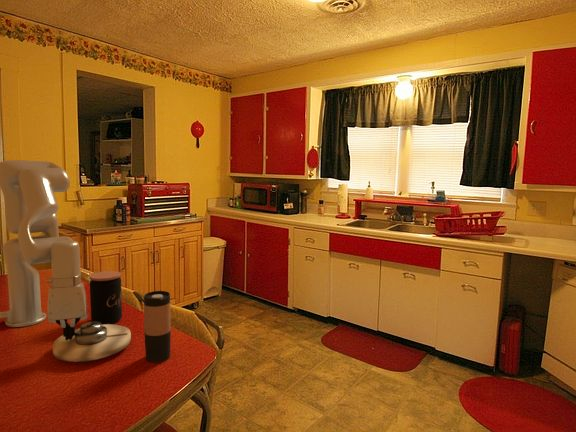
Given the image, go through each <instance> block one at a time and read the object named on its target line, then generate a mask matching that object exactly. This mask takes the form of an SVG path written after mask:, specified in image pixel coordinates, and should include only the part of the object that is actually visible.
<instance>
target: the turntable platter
mask: <svg viewBox="0 0 576 432" xmlns="http://www.w3.org/2000/svg"><path fill="white" fill-rule="evenodd" d="M102 326H104V327H106V328H107V338H106V339H105V340H104V341H102V342H100V343H97V344H93V345H78V344H76V343H75V336H73V337H72V340H69V339H68V340H65V337H63V334H62V335H60V336H59V337H57V338H56V339H55V341H54V342H53V344H52V353H53V356H54V358H56V359H58V360H61V361H65V362H75V363H80V362H79V361H88V362H91V361H90V360H95V359H99V360H101V359H100V358H103V359H105V358H104V357H106V358H108V357H110V356H112V355H114V354H115V355H116V354H117V353H119V352H121V351H122V350H124V349H125V348H127V347H128V346H129V344H131V341H132V337H131V336H132V333H131V330H130V329H129V327H126V326H123V325H120V324H119V325H118V324H104V325H102ZM78 330H80V327H79V328H75V333H76V332H77V331H78ZM107 356H108V357H107ZM95 361H96V360H95Z"/></svg>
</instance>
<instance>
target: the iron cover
mask: <svg viewBox="0 0 576 432" xmlns="http://www.w3.org/2000/svg"><path fill="white" fill-rule="evenodd" d="M79 328H80V330H78V331H77V332H76V333H75V343H76V344H78V345H93V344H97V343H100V342H102V341H104V340H105V339H106V338H107V328H106V327H104V326H102V324H101V323H100V322H92V321H88V322H85V323H82V324H81V325H80V327H79Z"/></svg>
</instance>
